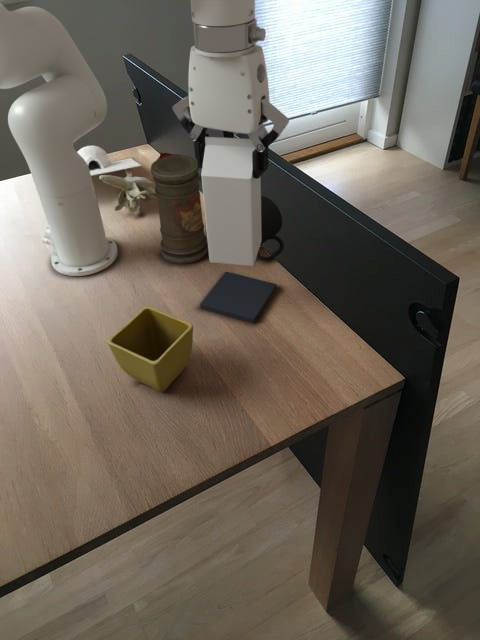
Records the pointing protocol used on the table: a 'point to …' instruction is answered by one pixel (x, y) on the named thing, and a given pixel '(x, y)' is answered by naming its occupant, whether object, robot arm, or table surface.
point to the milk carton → (231, 201)
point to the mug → (270, 225)
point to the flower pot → (153, 347)
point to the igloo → (103, 161)
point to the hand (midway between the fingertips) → (231, 168)
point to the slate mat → (239, 297)
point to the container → (179, 209)
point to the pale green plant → (130, 190)
